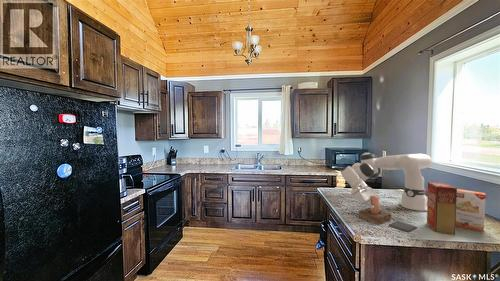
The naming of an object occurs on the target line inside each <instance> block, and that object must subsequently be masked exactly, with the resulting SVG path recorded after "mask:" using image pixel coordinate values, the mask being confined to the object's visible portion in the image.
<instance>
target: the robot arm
mask: <svg viewBox="0 0 500 281" xmlns="http://www.w3.org/2000/svg"><path fill="white" fill-rule="evenodd" d="M359 159H360V162H355V163H354V164H352V166H350V165H347V166H346V167H344V168H343V169H342V170H341V171H340V175H341V176H342V178H343V179H344V180H345V182H346V183H347V184H348V185H349V186H350V188H351V189H352V190H351V191H350V194H351V195H353V197H354V198H355V200H356V201H357V202H359V204H360V205H363V204H365V205H366V206H368V208H371V209H372V208H374V206H373V205H372V204H371V196H378V197H379V194H378V193H377V192H376V191H375V189H373V188H372V187H370V186H368V184H366V182H365V181H367V180H368V179H369V180H370V179H371V180H375V179H377V178H379V176H380V173H379V172H380V171H379V169H380V170H387V171H389V170H391V171H392V170H402V171H403V173H404V187H403V193H402V194H401V198H400V202H398V205H401V207H403V208H405V209H408V210H413V211H419V212H421V211H423V212H427V198H428V196H427V195H426V191H427V189H426V188H425V177H424V176H423V175H422V173H421V170H423V169H426V168H428V167H430V166H431V165H432V162H433V161H432V158H431V156H429V155H427V154H424V153H407V154H397V155H396V154H394V155H385V156H380V157H377V155H375V154H374V153H372V152H364V153H362V154H360V157H359ZM378 168H379V169H378ZM380 205H381V203H380V202H379V206H380Z"/></svg>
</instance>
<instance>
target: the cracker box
mask: <svg viewBox="0 0 500 281" xmlns="http://www.w3.org/2000/svg"><path fill="white" fill-rule="evenodd" d="M486 195H487V194H486V192H481V191H473V190H466V189H460V188H457V199H456V227H461V228H464V229H468V228H469V230H473V229H474V230H473V231H477V230H478V231H477V232H481V231H482V232H481V233H485V232H484V231H485V217H486V216H485V215H486V198H487V196H486Z"/></svg>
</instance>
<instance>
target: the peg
mask: <svg viewBox="0 0 500 281" xmlns="http://www.w3.org/2000/svg"><path fill="white" fill-rule="evenodd" d="M370 203H371V204H372V205H373V206H374V208H372V209H371V213H373V214H376V215H378V214H379V210H380V205H379V203H380V196H379V195H378V196H371V201H370Z"/></svg>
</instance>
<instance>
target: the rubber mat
mask: <svg viewBox="0 0 500 281" xmlns="http://www.w3.org/2000/svg"><path fill="white" fill-rule="evenodd" d="M388 226H389V227H392V228H393V229H394V228H395V229H398V230H401V231H403V232H406V233H410V232H412V231H415V230H417V228H418V227H417V226H415V225H412V224H409V223H405V222H403V221H400V220H395V221H394V222H391V223H389V224H388Z"/></svg>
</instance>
